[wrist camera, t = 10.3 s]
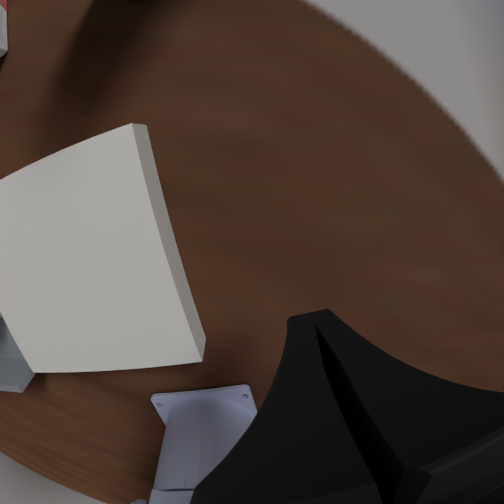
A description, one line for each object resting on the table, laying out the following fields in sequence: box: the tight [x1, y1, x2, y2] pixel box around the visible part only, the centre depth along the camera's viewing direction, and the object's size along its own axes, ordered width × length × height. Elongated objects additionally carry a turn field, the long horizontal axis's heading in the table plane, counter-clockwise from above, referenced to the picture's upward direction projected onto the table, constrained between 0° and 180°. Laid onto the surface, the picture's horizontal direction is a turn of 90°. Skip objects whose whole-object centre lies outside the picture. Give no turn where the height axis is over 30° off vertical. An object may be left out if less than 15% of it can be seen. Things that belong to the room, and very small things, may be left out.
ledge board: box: [0, 123, 206, 373], centre depth 18 cm, size 14×14×2 cm
